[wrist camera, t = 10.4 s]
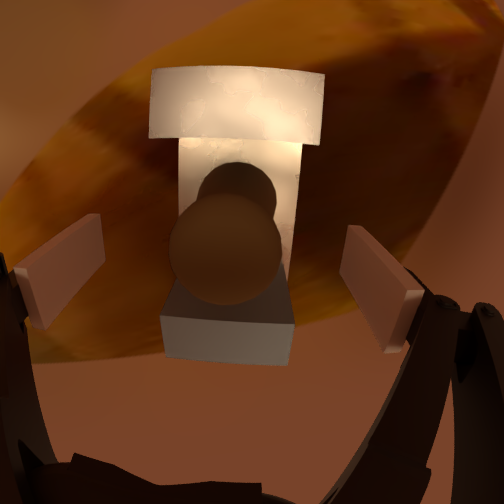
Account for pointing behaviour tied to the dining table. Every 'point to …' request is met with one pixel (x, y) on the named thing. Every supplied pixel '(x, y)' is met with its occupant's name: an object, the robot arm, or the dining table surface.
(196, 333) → the block
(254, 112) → the vise
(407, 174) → the dining table surface
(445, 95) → the dining table surface
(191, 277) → the wooden pawn
